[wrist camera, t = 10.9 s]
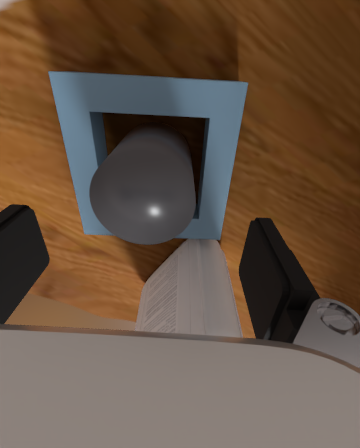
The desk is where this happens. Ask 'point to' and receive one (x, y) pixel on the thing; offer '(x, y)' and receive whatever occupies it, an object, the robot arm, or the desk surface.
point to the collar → (150, 105)
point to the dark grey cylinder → (146, 186)
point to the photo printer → (190, 293)
